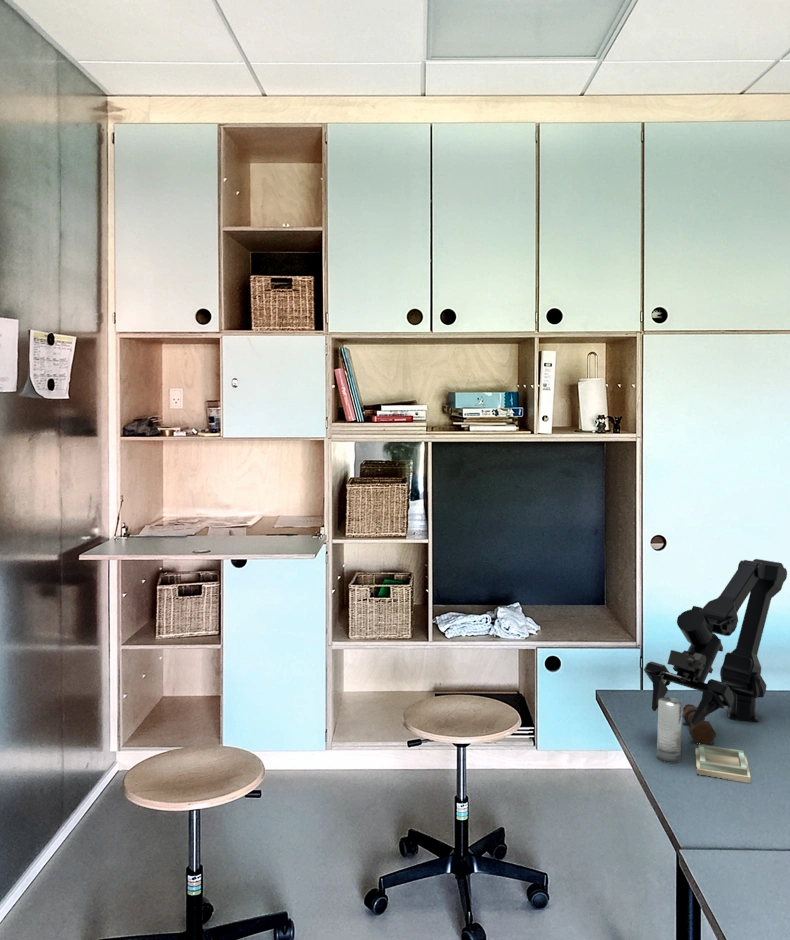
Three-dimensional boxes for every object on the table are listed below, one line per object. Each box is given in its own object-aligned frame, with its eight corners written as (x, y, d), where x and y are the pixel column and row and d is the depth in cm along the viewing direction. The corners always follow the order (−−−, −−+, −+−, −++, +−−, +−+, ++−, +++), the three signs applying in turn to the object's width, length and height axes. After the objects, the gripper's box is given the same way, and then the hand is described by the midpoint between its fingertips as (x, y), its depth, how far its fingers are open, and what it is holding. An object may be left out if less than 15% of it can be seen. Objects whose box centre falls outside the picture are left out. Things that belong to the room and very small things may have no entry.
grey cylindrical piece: (656, 750, 165) (658, 695, 164) (680, 754, 163) (682, 698, 162) (656, 760, 161) (658, 704, 159) (680, 764, 159) (682, 707, 158)
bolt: (692, 725, 183) (706, 751, 168) (673, 713, 183) (686, 738, 169) (705, 705, 182) (720, 730, 167) (687, 694, 183) (700, 717, 168)
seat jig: (695, 753, 164) (695, 742, 164) (745, 760, 160) (746, 750, 160) (696, 774, 154) (697, 763, 154) (750, 783, 151) (750, 771, 151)
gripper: (649, 626, 171) (620, 684, 165) (730, 647, 157) (701, 711, 151) (666, 653, 177) (639, 710, 171) (746, 675, 162) (719, 738, 156)
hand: (672, 716), depth 162 cm, fingers open, 9 cm apart
